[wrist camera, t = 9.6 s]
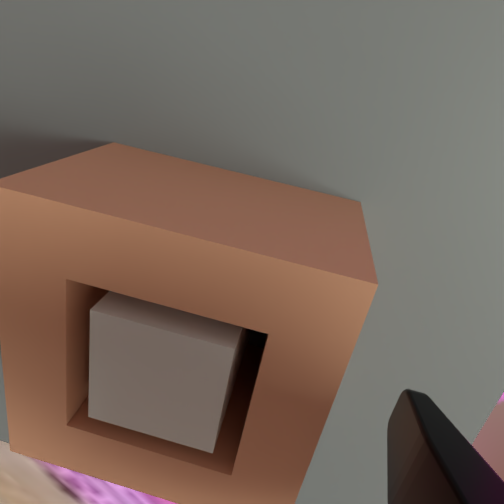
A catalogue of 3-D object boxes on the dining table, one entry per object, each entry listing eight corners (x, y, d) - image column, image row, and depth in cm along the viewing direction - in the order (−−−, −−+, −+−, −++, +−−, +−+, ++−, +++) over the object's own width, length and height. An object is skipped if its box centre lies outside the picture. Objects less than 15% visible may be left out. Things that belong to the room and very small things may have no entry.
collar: (104, 340, 12) (10, 450, 9) (113, 142, 10) (-15, 183, 6) (297, 394, 12) (281, 535, 8) (360, 201, 9) (378, 284, 6)
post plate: (-4, 412, 16) (-134, 544, 12) (-79, -202, 9) (-536, -508, 4) (395, 533, 15) (423, 733, 10) (737, -69, 7) (1420, -308, 3)
